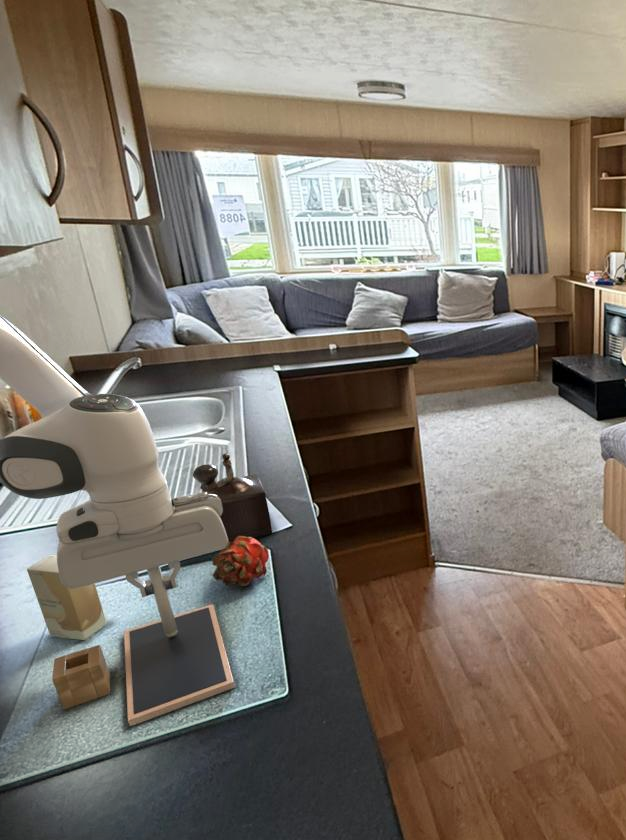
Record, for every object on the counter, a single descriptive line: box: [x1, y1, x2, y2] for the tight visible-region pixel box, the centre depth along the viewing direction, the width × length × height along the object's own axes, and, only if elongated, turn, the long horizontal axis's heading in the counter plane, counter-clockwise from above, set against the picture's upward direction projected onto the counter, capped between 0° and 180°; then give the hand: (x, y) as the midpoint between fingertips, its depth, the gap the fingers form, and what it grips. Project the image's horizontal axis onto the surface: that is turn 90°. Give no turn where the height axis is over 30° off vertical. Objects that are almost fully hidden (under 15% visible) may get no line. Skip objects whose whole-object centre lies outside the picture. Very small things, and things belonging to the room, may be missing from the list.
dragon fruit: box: [211, 536, 270, 587], centre depth 113 cm, size 8×8×12 cm
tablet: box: [123, 603, 236, 727], centre depth 94 cm, size 12×22×1 cm, turn 35°
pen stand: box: [51, 644, 111, 710], centre depth 88 cm, size 5×5×5 cm
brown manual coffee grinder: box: [192, 452, 273, 542], centre depth 124 cm, size 16×11×18 cm
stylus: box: [146, 566, 178, 637], centre depth 96 cm, size 2×2×15 cm
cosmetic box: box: [26, 554, 108, 641], centre depth 98 cm, size 6×4×12 cm
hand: (159, 590), depth 96 cm, fingers closed on stylus, 1 cm apart
